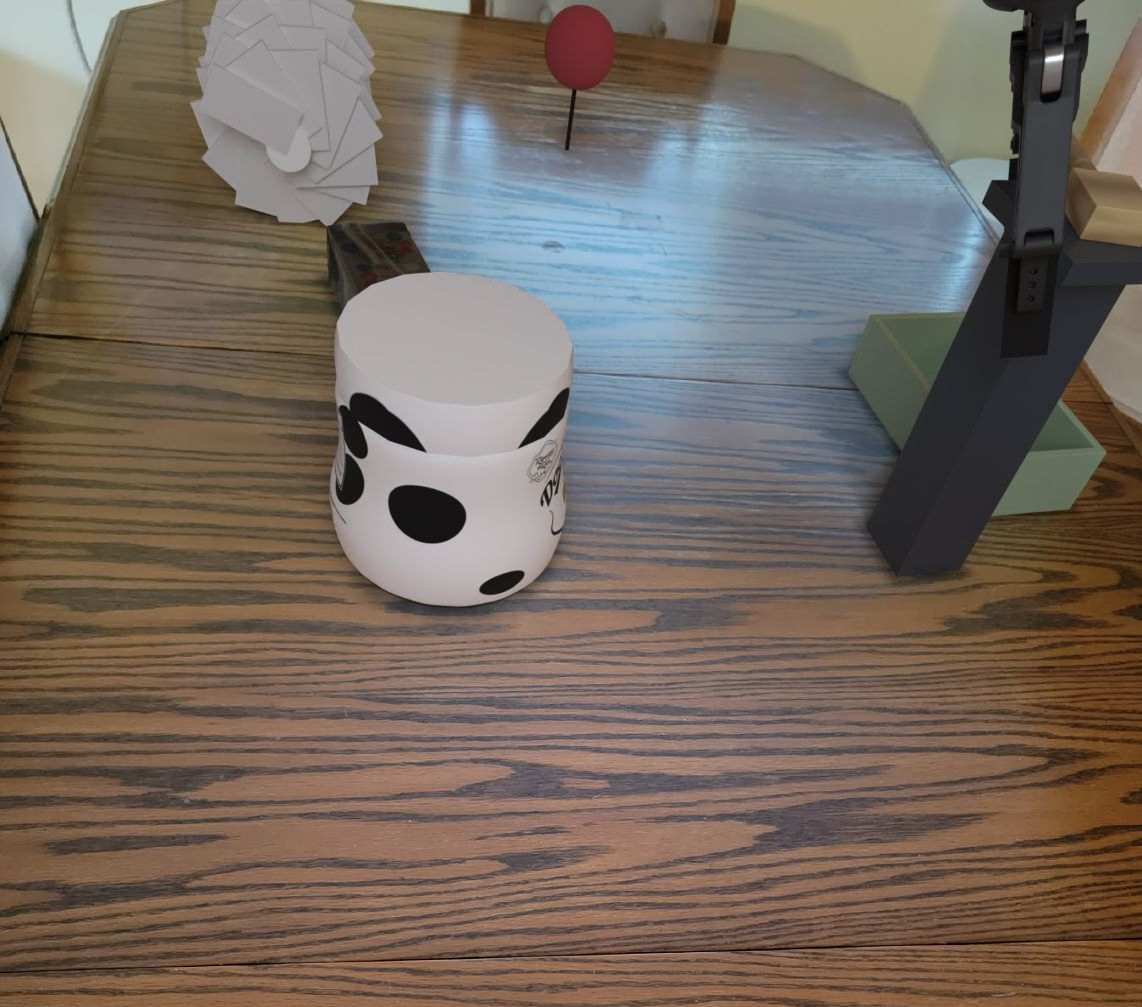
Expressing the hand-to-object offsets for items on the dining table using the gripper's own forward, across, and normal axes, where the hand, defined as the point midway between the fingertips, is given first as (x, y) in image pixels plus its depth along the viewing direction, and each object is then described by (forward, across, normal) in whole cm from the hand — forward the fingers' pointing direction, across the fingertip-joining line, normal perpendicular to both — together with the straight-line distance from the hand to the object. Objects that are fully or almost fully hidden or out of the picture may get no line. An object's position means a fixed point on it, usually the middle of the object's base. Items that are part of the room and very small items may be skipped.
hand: (1022, 303), depth 69 cm
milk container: (+9, +14, -40) cm, 44 cm away
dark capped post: (+21, -1, -7) cm, 22 cm away
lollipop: (+4, -56, -49) cm, 75 cm away
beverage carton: (+3, -11, -54) cm, 55 cm away
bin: (+22, -18, -4) cm, 29 cm away
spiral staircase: (-4, -32, -72) cm, 79 cm away
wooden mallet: (-5, -6, +2) cm, 8 cm away
